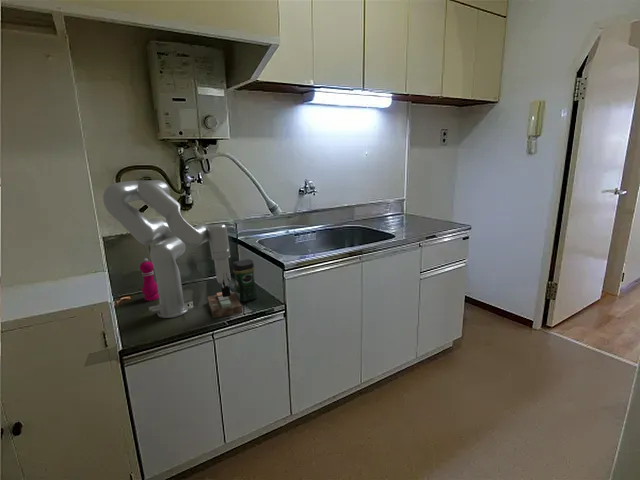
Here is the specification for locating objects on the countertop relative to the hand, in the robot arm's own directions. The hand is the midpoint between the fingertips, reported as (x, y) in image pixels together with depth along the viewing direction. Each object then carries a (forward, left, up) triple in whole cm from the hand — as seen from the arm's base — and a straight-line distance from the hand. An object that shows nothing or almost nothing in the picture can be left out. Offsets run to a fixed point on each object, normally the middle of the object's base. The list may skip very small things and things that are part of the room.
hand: (226, 295), depth 157 cm
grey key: (-1, +6, -6) cm, 8 cm away
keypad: (-1, +6, -7) cm, 9 cm away
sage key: (-1, 0, -6) cm, 6 cm away
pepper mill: (-31, +33, -8) cm, 46 cm away
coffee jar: (+10, +11, -8) cm, 17 cm away
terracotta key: (-1, +11, -6) cm, 13 cm away
